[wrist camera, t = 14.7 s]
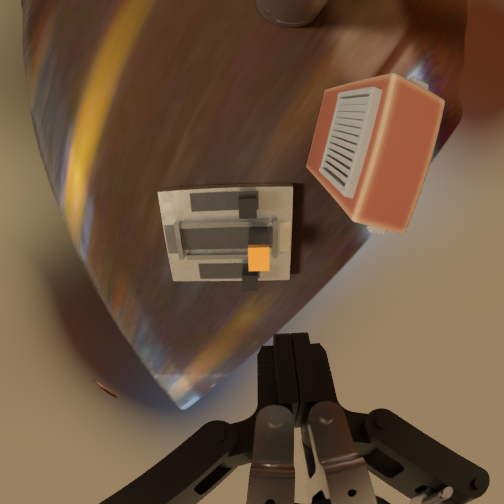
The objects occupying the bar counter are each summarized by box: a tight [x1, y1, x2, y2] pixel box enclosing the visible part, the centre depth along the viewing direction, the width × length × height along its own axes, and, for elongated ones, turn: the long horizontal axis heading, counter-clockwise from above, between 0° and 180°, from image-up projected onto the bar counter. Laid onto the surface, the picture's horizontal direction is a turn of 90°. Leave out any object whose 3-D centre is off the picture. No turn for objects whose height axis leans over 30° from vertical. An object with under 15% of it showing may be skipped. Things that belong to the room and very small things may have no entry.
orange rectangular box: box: [306, 73, 445, 235], centre depth 27 cm, size 21×7×15 cm
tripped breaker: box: [248, 228, 270, 271], centre depth 39 cm, size 4×3×6 cm
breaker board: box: [158, 183, 293, 291], centre depth 42 cm, size 16×20×6 cm
